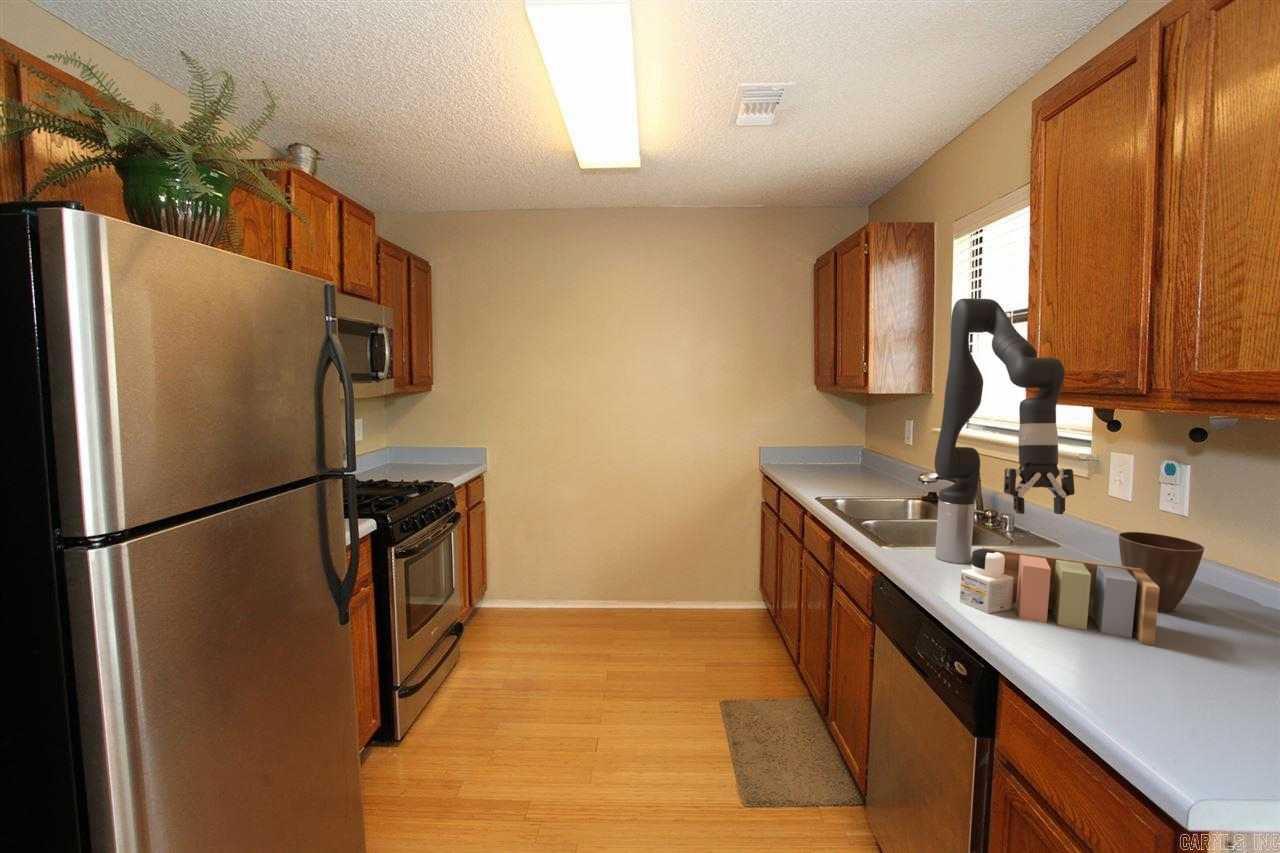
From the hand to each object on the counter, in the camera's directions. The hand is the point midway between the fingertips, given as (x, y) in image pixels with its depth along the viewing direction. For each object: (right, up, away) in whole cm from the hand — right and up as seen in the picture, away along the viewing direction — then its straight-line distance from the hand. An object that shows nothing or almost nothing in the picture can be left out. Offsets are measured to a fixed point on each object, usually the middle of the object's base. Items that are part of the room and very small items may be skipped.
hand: (1039, 513), depth 133 cm
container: (-11, -22, +3) cm, 25 cm away
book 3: (+10, -23, -8) cm, 27 cm away
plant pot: (+29, -23, +3) cm, 37 cm away
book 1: (-3, -22, -1) cm, 23 cm away
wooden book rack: (+1, -23, -4) cm, 23 cm away
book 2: (+3, -23, -5) cm, 24 cm away
